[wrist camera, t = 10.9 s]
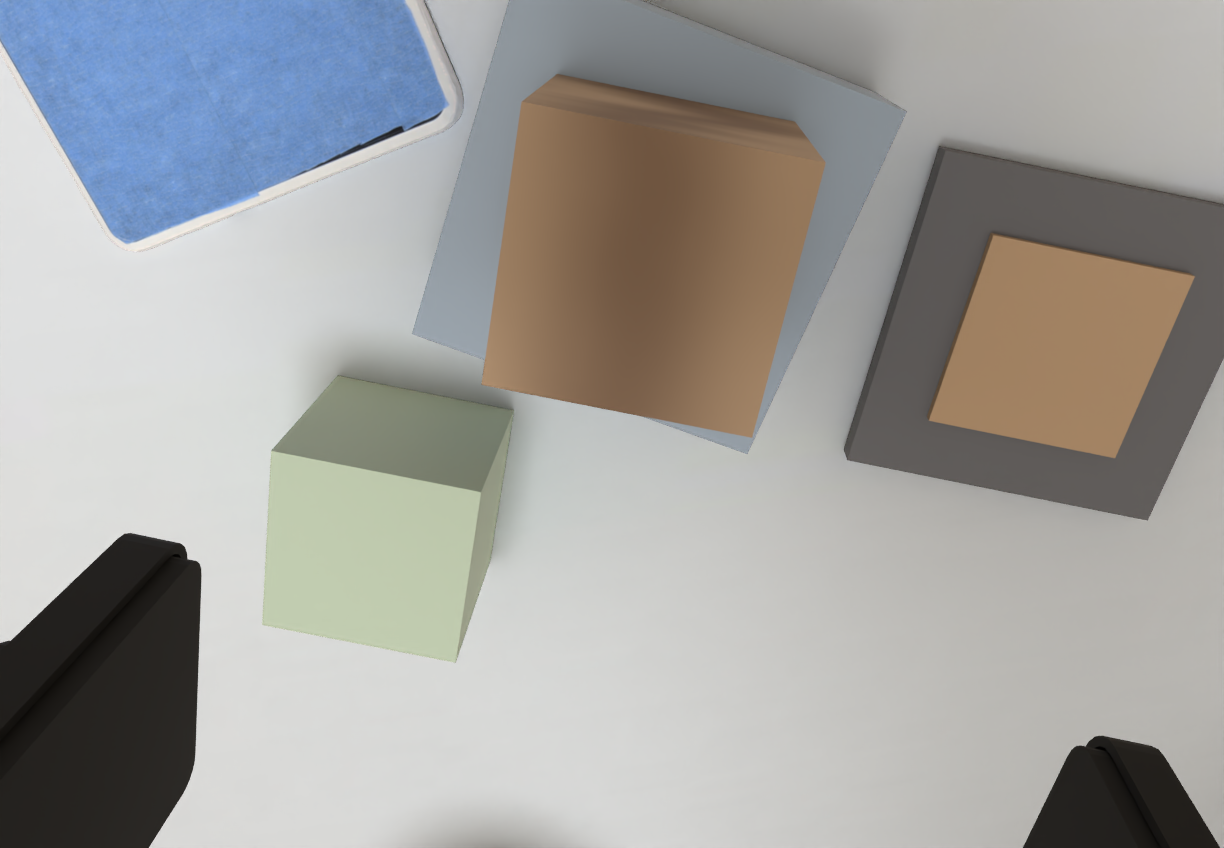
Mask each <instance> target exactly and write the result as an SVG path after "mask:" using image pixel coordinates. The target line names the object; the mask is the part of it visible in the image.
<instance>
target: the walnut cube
mask: <svg viewBox="0 0 1224 848" xmlns="http://www.w3.org/2000/svg"><path fill="white" fill-rule="evenodd" d="M825 164H826V162H825V161H824V159H823V158H822V157H821V155H820V154H819V153H818V152H817V150H816V149H815V148H814V146H813V145H812V144H811V142H810V141H809V140H808V138H807V137H806V136H805V134H804V133H803V132H802V130H801V129H800V128H799V126H798V125H797V124H796V122H794V121H789V120H784V119H779V118H774V117H769V116H764V115H759V114H754V113H749V112H745V111H740V110H735V109H730V108H725V107H720V106H715V105H710V104H705V103H700V102H695V101H690V100H685V99H680V98H675V97H670V96H665V95H660V94H655V93H650V92H645V91H640V90H635V89H630V88H625V87H620V86H615V85H610V84H605V83H600V82H595V81H590V80H585V79H580V78H575V77H570V76H565V75H560V74H556V75H555V76H554V77H553V78H551V79H550V80H549V81H547V82H546V83H545V84H544V85H542V86H541V87H540V88H538V89H537V90H536V91H535V92H533V93H532V94H531V95H529V96H528V97H527V98H526V99H524V100H523V101H522V102H521V109H520V116H519V123H518V130H517V137H516V144H515V151H514V158H513V165H512V172H511V179H510V187H509V194H508V201H507V208H506V215H505V222H504V229H503V236H502V243H501V250H500V257H499V264H498V272H497V279H496V286H495V293H494V300H493V307H492V314H491V321H490V328H489V335H488V342H487V349H486V357H485V364H484V371H483V378H482V385H485V386H490V387H495V388H501V389H506V390H511V391H516V392H521V393H526V394H531V395H536V396H541V397H546V398H552V399H557V400H562V401H567V402H572V403H577V404H582V405H587V406H592V407H597V408H602V409H608V410H613V411H618V412H623V413H628V414H633V415H638V416H643V417H648V418H653V419H659V420H664V421H669V422H674V423H679V424H684V425H689V426H694V427H699V428H704V429H710V430H715V431H720V432H725V433H730V434H735V435H740V436H745V437H750V438H752V437H753V433H754V429H755V425H756V422H757V418H758V414H759V410H760V407H761V403H762V399H763V395H764V392H765V388H766V384H767V381H768V377H769V373H770V369H771V366H772V362H773V358H774V354H775V351H776V347H777V343H778V339H779V336H780V332H781V328H782V324H783V321H784V317H785V313H786V310H787V306H788V302H789V298H790V295H791V291H792V287H793V283H794V280H795V276H796V272H797V268H798V265H799V261H800V257H801V254H802V250H803V246H804V242H805V239H806V235H807V231H808V227H809V224H810V220H811V216H812V212H813V209H814V205H815V201H816V198H817V194H818V190H819V186H820V183H821V179H822V175H823V171H824V168H825Z"/></svg>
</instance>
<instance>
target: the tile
mask: <svg viewBox="0 0 1224 848" xmlns="http://www.w3.org/2000/svg"><path fill="white" fill-rule="evenodd" d="M1223 358H1224V205H1223V204H1218V203H1214V202H1209V201H1204V200H1199V199H1194V198H1189V197H1184V196H1179V195H1175V194H1170V193H1165V192H1160V191H1155V190H1150V189H1145V188H1140V187H1136V186H1131V185H1126V184H1121V183H1116V182H1111V181H1106V180H1101V179H1097V178H1092V177H1087V176H1082V175H1077V174H1072V173H1067V172H1062V171H1058V170H1053V169H1048V168H1043V167H1038V166H1033V165H1028V164H1023V163H1019V162H1014V161H1009V160H1004V159H999V158H994V157H989V156H984V155H980V154H975V153H970V152H965V151H960V150H955V149H950V148H945V147H941V146H939V149H938V152H937V155H936V158H935V162H934V165H933V168H932V171H931V174H930V178H929V181H928V184H927V187H926V190H925V193H924V197H923V200H922V203H921V206H920V209H919V213H918V216H917V219H916V222H915V225H914V228H913V232H912V235H911V238H910V241H909V244H908V248H907V251H906V254H905V257H904V260H903V263H902V267H901V270H900V273H899V276H898V279H897V282H896V286H895V289H894V292H893V295H892V298H891V302H890V305H889V308H888V311H887V314H886V317H885V321H884V324H883V327H882V330H881V333H880V337H879V340H878V343H877V346H876V349H875V352H874V356H873V359H872V362H871V365H870V368H869V372H868V375H867V378H866V381H865V384H864V387H863V391H862V394H861V397H860V400H859V403H858V407H857V410H856V413H855V416H854V419H853V422H852V426H851V429H850V432H849V435H848V438H847V441H846V445H845V448H844V451H845V454H846V457H847V460H850V461H855V462H860V463H864V464H869V465H874V466H879V467H884V468H889V469H894V470H899V471H904V472H909V473H914V474H919V475H924V476H929V477H934V478H939V479H944V480H949V481H954V482H959V483H964V484H969V485H974V486H979V487H984V488H989V489H994V490H999V491H1004V492H1009V493H1014V494H1019V495H1024V496H1029V497H1034V498H1038V499H1043V500H1048V501H1053V502H1058V503H1063V504H1068V505H1073V506H1078V507H1083V508H1088V509H1093V510H1098V511H1103V512H1108V513H1113V514H1118V515H1123V516H1128V517H1133V518H1138V519H1143V520H1148V518H1149V516H1150V514H1151V512H1152V510H1153V508H1154V506H1155V503H1156V501H1157V499H1158V497H1159V495H1160V493H1161V491H1162V489H1163V486H1164V484H1165V482H1166V480H1167V478H1168V476H1169V474H1170V471H1171V469H1172V467H1173V465H1174V463H1175V461H1176V459H1177V456H1178V454H1179V452H1180V450H1181V448H1182V446H1183V444H1184V441H1185V439H1186V437H1187V435H1188V433H1189V431H1190V429H1191V427H1192V424H1193V422H1194V420H1195V418H1196V416H1197V414H1198V412H1199V409H1200V407H1201V405H1202V403H1203V401H1204V399H1205V397H1206V394H1207V392H1208V390H1209V388H1210V386H1211V384H1212V382H1213V379H1214V377H1215V375H1216V373H1217V371H1218V369H1219V367H1220V364H1221V362H1222V360H1223Z"/></svg>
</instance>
